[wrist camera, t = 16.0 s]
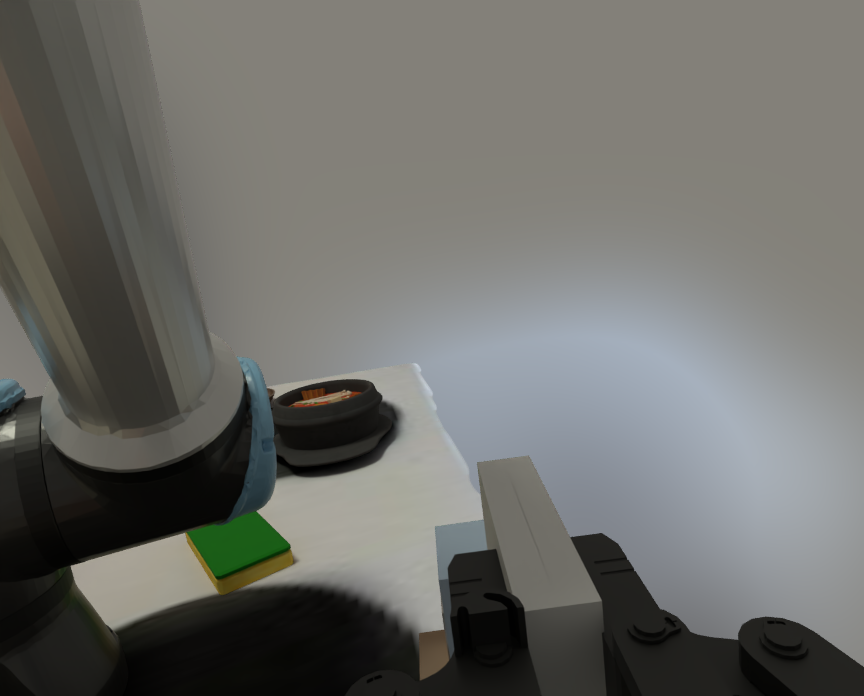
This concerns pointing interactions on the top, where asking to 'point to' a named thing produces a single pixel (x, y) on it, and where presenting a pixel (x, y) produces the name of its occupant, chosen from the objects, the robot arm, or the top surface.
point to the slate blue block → (449, 544)
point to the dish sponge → (239, 551)
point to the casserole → (328, 422)
